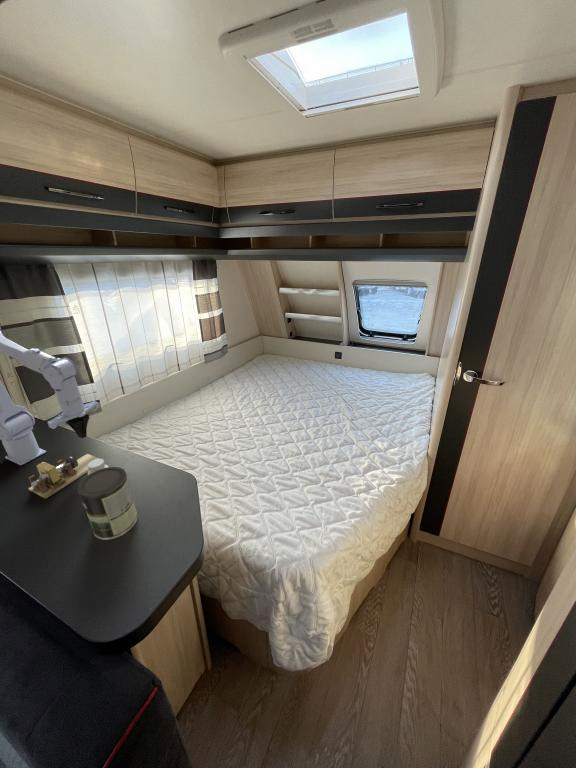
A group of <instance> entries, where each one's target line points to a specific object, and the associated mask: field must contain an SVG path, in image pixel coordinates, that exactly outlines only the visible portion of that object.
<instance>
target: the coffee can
mask: <svg viewBox="0 0 576 768" xmlns="http://www.w3.org/2000/svg"><path fill="white" fill-rule="evenodd" d="M76 490H77V494H78V496H79V497H80V500H81V502H82V505H83V508H84V510H85V513H86V515H87V518H88V520H89V524H90V526H91V529H92V532H93V534H94V537H96V538H97V539H99V540H102V541H108V540H115V539H117V538H119V537H121V536H124V534H126V533H128V532H129V531H130V530H131V529H132V528H133V527H134V526H135V525H136V523H137V521H138V515H139V514H138V512H137V509H136V506H135V502H134V499H133V494H132V492H131V489H130V485H129V481H128V475H127V472H126V470H125V469H124V468H122V467H118V466H108V468H103V469H100V470H97V471H95V472H93V473H91V474H89V475H88V474H87V475H86V476H85V477H84V478H82V479H81V481H80V482H79V484H78V486H77V489H76Z"/></svg>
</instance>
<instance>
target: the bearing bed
mask: <svg viewBox="0 0 576 768" xmlns="http://www.w3.org/2000/svg"><path fill="white" fill-rule="evenodd" d="M95 459H101V458H99V457H97V456H94V455H91V454H89V453H86V454H85V455H83V456H81V457H79V458H78V459H76V460H77V462H78V466H77V467H75V468H74V469H73V468H72V465H71V463H68V464H66V465H65V466H66V468H67V470H65V471H64V472H62V473H60V474H59V477H60V479H61V481H60V482H58V483H57V484H55V485H54V486H53V485H50V484H48V483H46V482H45V481H44V479H40V480H38V481H37V483H38V485H37V486H36V487H33V486H32V485H31V486H30V487H28V490H29V491H30V492H32V493H33V494H35V495H38V496H39V497H42V498H43V499H46V500H47V499H48V498H49V497H51V496H52V495H54V494H55V493H57V492H59V491H61V490H62V489H64V488H65V487H67V486H68V485H70V484H71V483H72V482H74V481H76V480H77V479H80V478H81V477H82V476H84V475H85V474H86V473H87V474H88V471H89V469H88V464H89V463H90V462H91V461H93V460H95ZM56 462H57V466H58V465H60V464H62V463H64V462H65V461H64V460H63V459H62V458H61V459H59V460H58V461H56ZM37 479H38V478H37V476H36V475H35V474H32V475H30V476H29V477H28V480H29V482H30V484H31V483H32V482H34V481H35V480H37Z"/></svg>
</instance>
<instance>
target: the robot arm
mask: <svg viewBox="0 0 576 768" xmlns="http://www.w3.org/2000/svg"><path fill="white" fill-rule="evenodd" d="M0 354H3V355H6V356H9V357H10V358H15V359H17V360H20V363H21V364H22V366H23V367H26V368H28V369H30V370H32V371H34V372H37V373H38V374H41V375H42V376H43V378H44V379H45V380H46V381H47V382H48V383H49V385H50V387H51V388H52V389H53V390H54V393H55V397H56V399H57V401H58V403H59V407H60V409H61V412H62V413H60V414H59V415H57V416H56V417H54V418H53V419H51V420H48V421H47V425H48V427H49V428H50V429H53V430H54V429H56V428H58V426H61V425H62V424H63V425H64V424H66V425H67V426H68V427H70V428H71V429H72V430H73V431H74V432H75V433H76V435H77V437H79V438H81V439H84V438H86V437H87V436H88V433H87V431H88V430H87V428H88V423H89V420H90V415H89V414H88V412H90V411H92V410H95V409H99V408H100V403H99V401H98V402H97V401H95V400H94V401H91V402H88V403H85V404H84V402H83V397H82V395H81V393H80V392H81V391H80V390H79V386H78V383H77V379H76V377H75V376H76V375H77V373H78V367H77V365H76V364H75V363H76V362H74V361H73V360H71V359H70V358H68V357H62V358H60V357H55V356H54V355H53V356H52V355H50V354H48V353H46V352H44V351H42V350H41V349H39V348H37V347H36V348H29V349H27V348H25V347H23V346H22V345H20V344H18V343H16V342H14V341H12V340H10V339H9V338H7V337H5V336H4V334H3V332H2V331H1V330H0ZM35 423H36V420H35V417H34V415H33V414H32V413H31V412H29V411H28V409H27V408H26V406H23V405H17V404H15V403H14V401H13V398H12V397H11V395H10V394H9V392H8V391H7V389H6V388H5V386H4V384H3V382H2V381H1V380H0V440H1V443H2V445H3V448H4V450H5V452H6V453H7V455H6V456H5V459H6V460H8V461H11V462H12V463H15V464H17V465H19V466H22V465H25V464H27V463H28V462H31V461H32V460H34V459H36V458H38V457H40V456H42V455H43V454H45V453H47V450H44V449H42V448H40V447H39V445H38V442H37V440H36V439H37V438H36V437H35V435H34V432H33V429H34V427H33V426H34V425H35Z"/></svg>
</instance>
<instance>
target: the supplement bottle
mask: <svg viewBox="0 0 576 768" xmlns="http://www.w3.org/2000/svg"><path fill="white" fill-rule="evenodd" d="M108 467H109V465H108V464H105V460H104V459H103V458H100V459H95V460H93V461H91V462H90V463H89V464H88V469H89V471H88V472H87V476H88V475H89V474H91V473H93V472H95V471H97V470H100V469H103V468H108Z"/></svg>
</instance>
